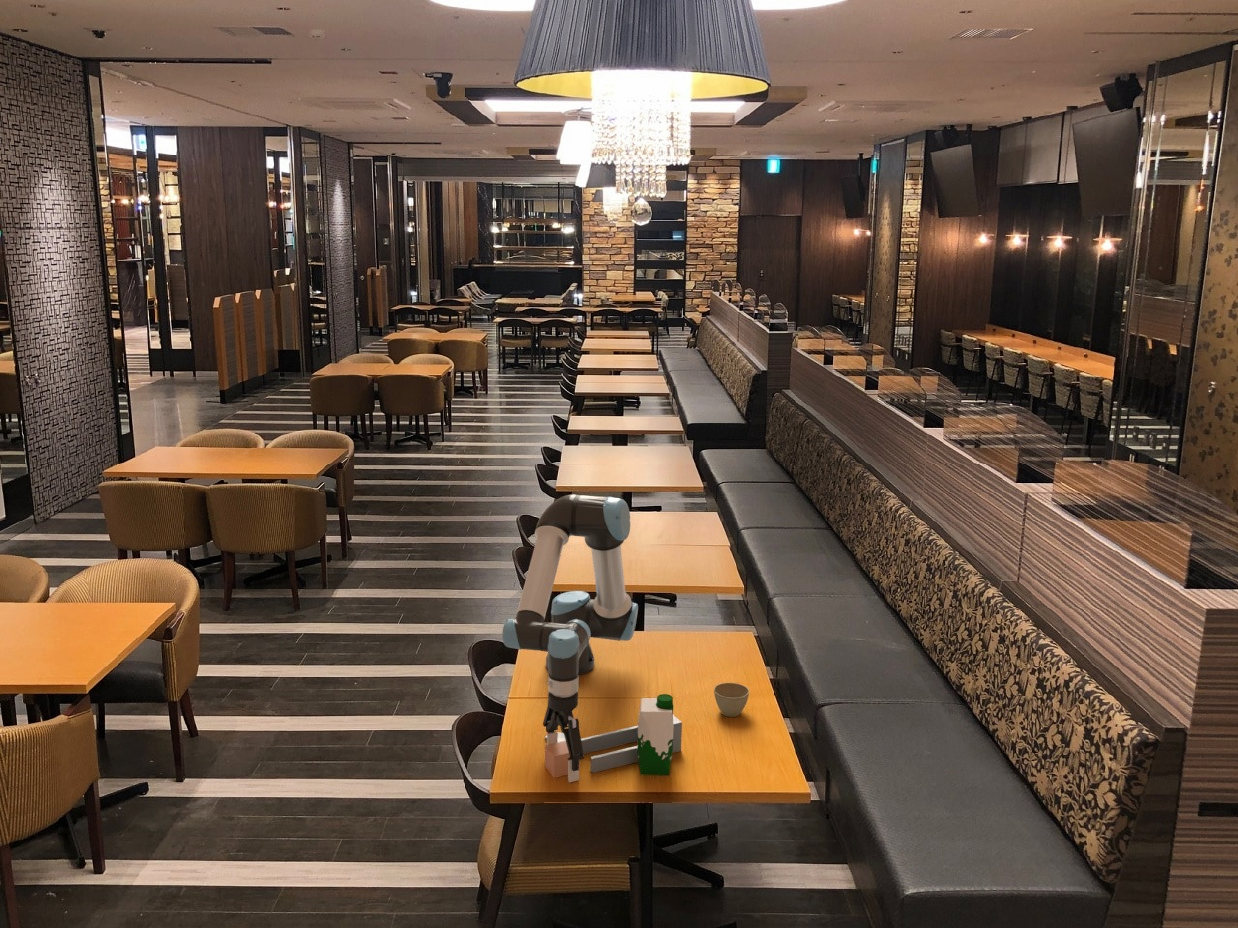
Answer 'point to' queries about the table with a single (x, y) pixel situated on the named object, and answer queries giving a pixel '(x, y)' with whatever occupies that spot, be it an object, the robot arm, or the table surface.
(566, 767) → the block
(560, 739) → the coaster
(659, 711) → the milk carton
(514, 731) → the table surface
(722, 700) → the flower pot
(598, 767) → the chute
